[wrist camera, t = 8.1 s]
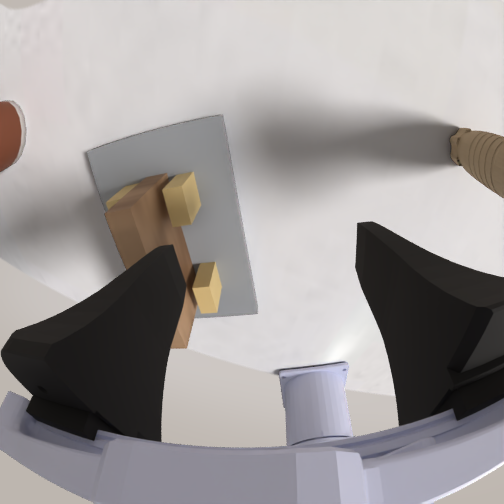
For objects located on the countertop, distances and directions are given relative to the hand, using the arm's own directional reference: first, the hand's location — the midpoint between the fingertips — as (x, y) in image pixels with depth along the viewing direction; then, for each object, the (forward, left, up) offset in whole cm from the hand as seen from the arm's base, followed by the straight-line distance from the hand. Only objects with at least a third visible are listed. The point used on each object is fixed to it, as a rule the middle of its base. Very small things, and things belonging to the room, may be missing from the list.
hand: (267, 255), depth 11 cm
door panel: (-3, +7, -8) cm, 11 cm away
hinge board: (-3, +7, -9) cm, 12 cm away
